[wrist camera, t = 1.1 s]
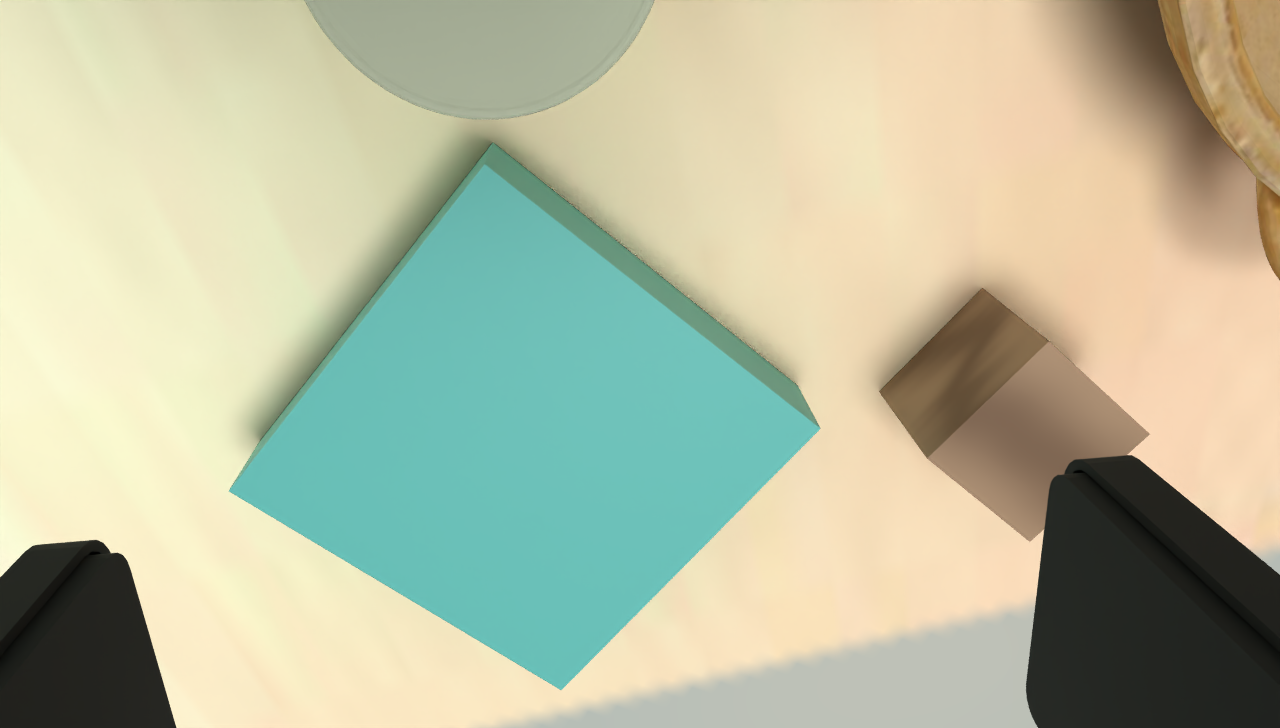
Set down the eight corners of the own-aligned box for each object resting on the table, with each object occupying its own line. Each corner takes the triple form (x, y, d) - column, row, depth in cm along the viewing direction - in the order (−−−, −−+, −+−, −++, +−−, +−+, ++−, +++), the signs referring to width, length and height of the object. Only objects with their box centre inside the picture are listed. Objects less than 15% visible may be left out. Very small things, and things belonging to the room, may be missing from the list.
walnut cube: (981, 287, 40) (1048, 341, 34) (1072, 370, 42) (1149, 434, 36) (878, 391, 41) (927, 458, 36) (970, 466, 43) (1029, 541, 38)
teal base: (492, 142, 36) (484, 163, 32) (797, 385, 41) (820, 428, 37) (259, 441, 40) (228, 491, 36) (561, 629, 45) (561, 690, 41)
